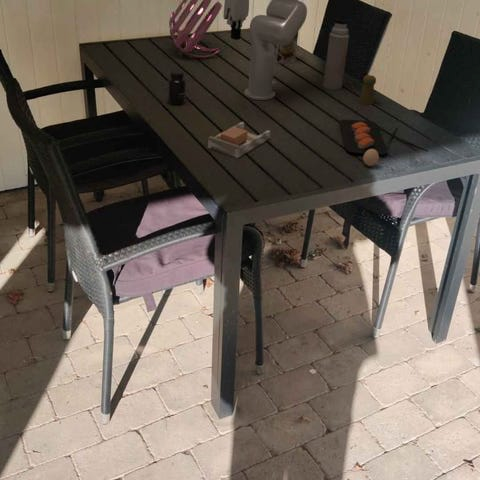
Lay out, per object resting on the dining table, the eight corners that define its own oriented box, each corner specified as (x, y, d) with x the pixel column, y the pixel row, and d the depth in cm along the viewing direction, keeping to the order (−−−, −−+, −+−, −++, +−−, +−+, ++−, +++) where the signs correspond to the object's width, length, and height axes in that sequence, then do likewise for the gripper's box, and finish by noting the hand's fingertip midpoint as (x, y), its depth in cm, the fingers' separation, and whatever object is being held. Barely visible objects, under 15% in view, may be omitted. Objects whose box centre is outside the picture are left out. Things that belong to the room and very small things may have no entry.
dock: (241, 131, 241) (242, 119, 238) (269, 140, 236) (270, 128, 233) (208, 149, 226) (208, 137, 224) (237, 159, 221) (237, 147, 219)
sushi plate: (337, 123, 252) (339, 114, 250) (416, 128, 252) (418, 119, 250) (345, 156, 228) (347, 146, 226) (432, 162, 228) (435, 152, 226)
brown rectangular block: (233, 137, 232) (233, 126, 229) (247, 142, 229) (248, 131, 227) (219, 145, 226) (220, 133, 224) (234, 150, 223) (234, 138, 221)
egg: (380, 166, 221) (383, 150, 218) (369, 170, 219) (372, 153, 216) (369, 160, 225) (372, 144, 222) (358, 164, 222) (361, 148, 219)
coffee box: (276, 63, 306) (279, 28, 298) (272, 59, 312) (275, 24, 303) (295, 63, 308) (299, 28, 300) (291, 59, 314) (294, 24, 305)
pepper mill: (374, 101, 273) (379, 75, 267) (371, 106, 268) (375, 79, 262) (360, 98, 275) (364, 72, 269) (356, 103, 270) (360, 76, 264)
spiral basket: (247, 9, 309) (199, -29, 301) (232, 40, 290) (181, 0, 282) (215, 49, 328) (169, 14, 320) (199, 80, 309) (151, 44, 301)
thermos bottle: (344, 86, 286) (354, 20, 271) (336, 91, 280) (346, 24, 265) (327, 82, 289) (336, 16, 274) (319, 87, 283) (328, 20, 268)
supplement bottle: (182, 106, 256) (183, 76, 250) (165, 104, 257) (165, 74, 251) (187, 100, 262) (187, 70, 255) (170, 98, 263) (170, 68, 256)
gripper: (241, -19, 239) (238, 32, 249) (217, -13, 229) (215, 40, 239) (258, -16, 236) (255, 36, 246) (235, -9, 225) (232, 45, 235)
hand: (235, 38), depth 242 cm, fingers closed
